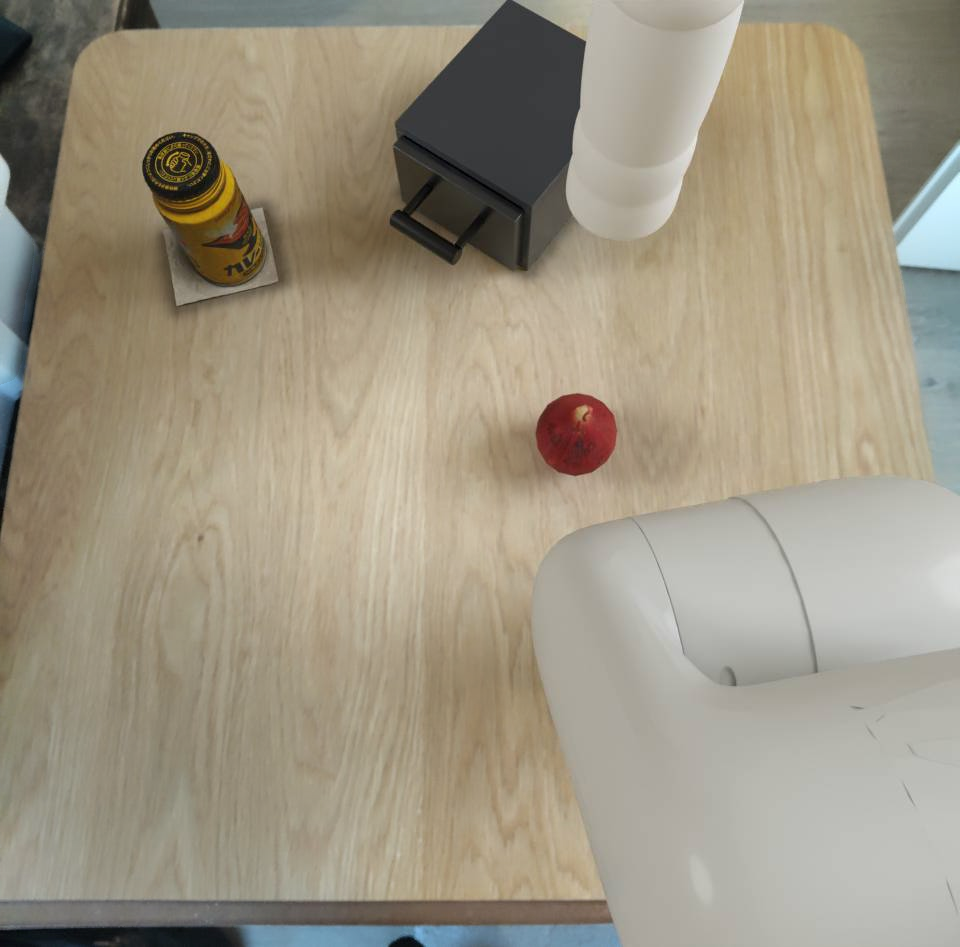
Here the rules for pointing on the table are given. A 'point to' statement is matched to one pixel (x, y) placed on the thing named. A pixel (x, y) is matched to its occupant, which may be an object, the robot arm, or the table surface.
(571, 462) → the onion
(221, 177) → the condiment
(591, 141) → the water bottle
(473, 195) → the drawer
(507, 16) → the cabinet
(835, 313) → the table surface
